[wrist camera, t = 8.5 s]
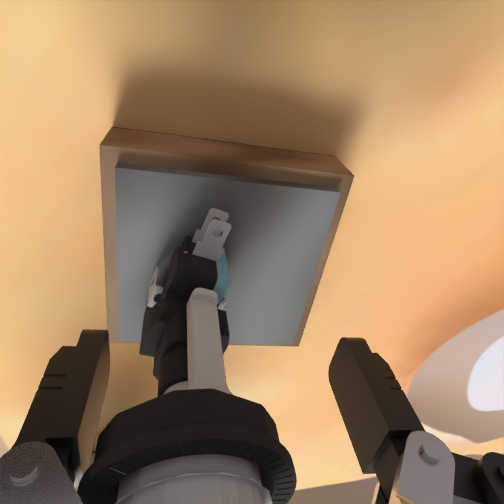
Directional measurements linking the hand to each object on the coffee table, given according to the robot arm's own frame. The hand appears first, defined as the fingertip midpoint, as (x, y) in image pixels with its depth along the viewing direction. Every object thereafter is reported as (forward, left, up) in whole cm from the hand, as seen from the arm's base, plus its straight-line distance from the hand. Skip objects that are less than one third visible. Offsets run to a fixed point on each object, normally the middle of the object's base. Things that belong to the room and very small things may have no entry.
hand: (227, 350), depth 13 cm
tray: (0, 0, -8) cm, 8 cm away
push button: (+1, 0, -5) cm, 5 cm away
